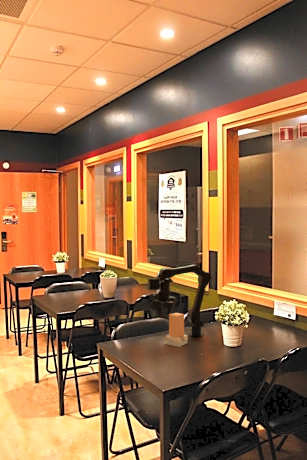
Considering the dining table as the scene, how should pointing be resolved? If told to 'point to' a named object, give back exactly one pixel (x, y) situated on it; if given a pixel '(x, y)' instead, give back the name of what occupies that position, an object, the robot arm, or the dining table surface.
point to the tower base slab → (176, 343)
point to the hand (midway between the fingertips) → (164, 315)
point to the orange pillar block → (176, 324)
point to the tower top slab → (177, 338)
